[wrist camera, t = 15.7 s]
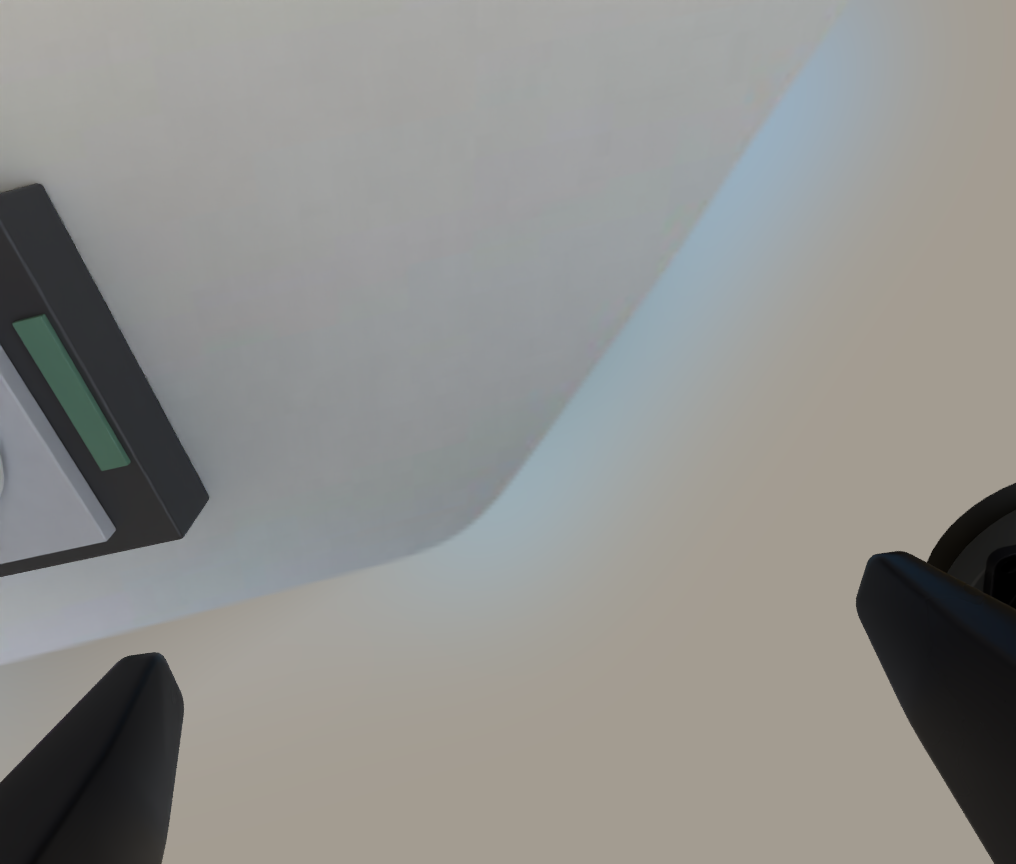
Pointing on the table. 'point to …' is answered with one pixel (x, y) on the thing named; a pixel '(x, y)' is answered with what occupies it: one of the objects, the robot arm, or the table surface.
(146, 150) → the table surface
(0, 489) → the pill bottle
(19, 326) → the scale
